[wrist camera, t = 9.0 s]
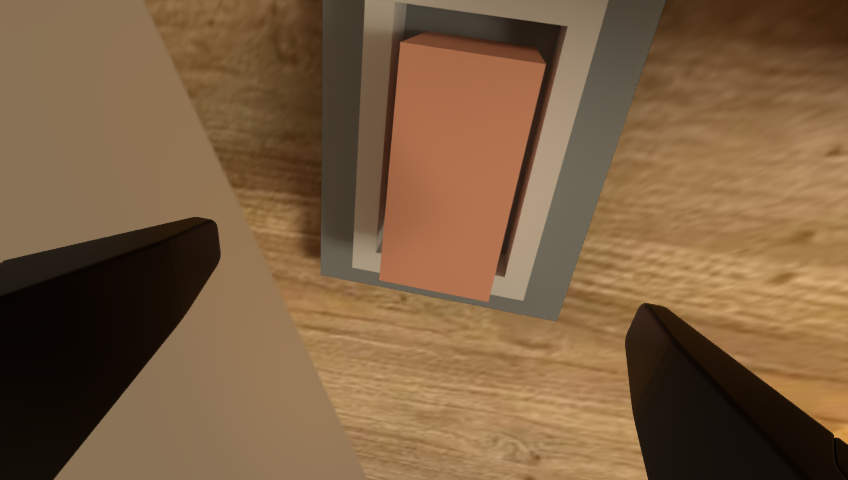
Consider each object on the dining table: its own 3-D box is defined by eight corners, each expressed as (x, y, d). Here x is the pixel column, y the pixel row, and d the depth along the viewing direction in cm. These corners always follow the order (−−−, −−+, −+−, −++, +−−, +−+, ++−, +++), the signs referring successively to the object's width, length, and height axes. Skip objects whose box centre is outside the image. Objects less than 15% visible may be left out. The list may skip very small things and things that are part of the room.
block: (428, 30, 17) (400, 42, 12) (535, 46, 16) (545, 64, 12) (406, 220, 21) (379, 280, 16) (492, 236, 20) (488, 301, 16)
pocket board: (553, 303, 23) (561, 349, 20) (330, 260, 24) (305, 297, 21) (676, -69, 15) (717, -86, 12) (338, -110, 16) (299, -134, 13)
